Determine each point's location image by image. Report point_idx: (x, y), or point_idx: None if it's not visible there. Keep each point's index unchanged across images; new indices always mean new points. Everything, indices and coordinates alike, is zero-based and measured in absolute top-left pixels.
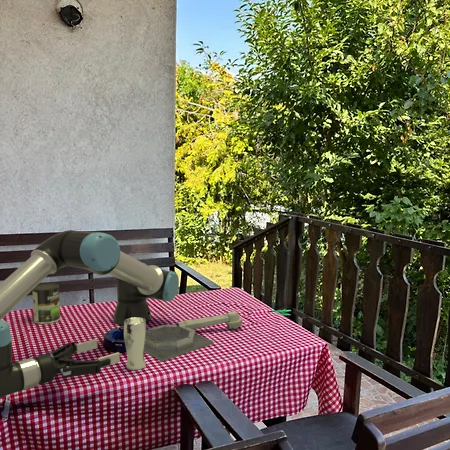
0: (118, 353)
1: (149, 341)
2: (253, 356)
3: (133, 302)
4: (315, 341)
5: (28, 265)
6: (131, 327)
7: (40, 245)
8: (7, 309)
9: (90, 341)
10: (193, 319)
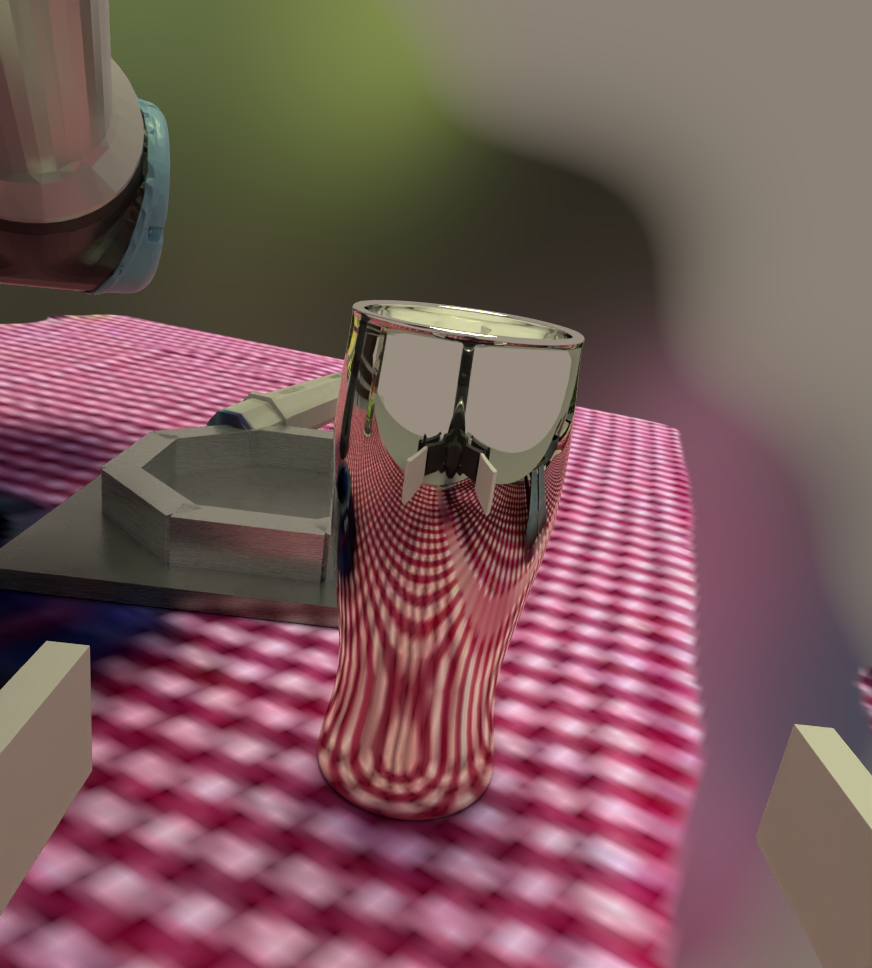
0: (840, 740)
1: (255, 534)
2: (676, 500)
3: None
4: (658, 426)
5: None
6: (546, 381)
7: None
8: None
9: (25, 724)
10: (283, 389)
